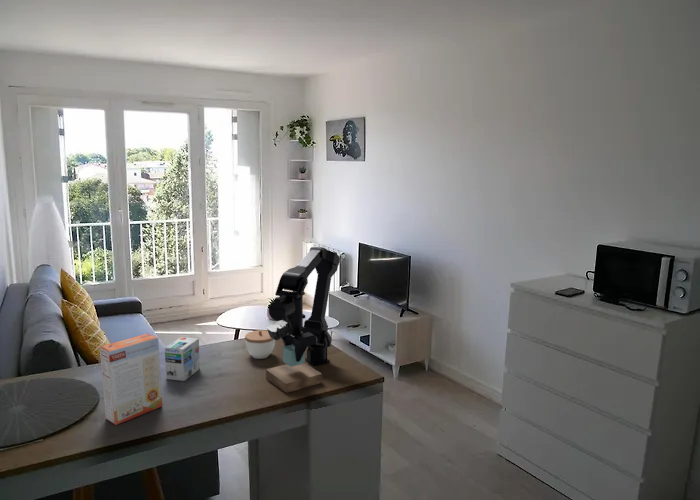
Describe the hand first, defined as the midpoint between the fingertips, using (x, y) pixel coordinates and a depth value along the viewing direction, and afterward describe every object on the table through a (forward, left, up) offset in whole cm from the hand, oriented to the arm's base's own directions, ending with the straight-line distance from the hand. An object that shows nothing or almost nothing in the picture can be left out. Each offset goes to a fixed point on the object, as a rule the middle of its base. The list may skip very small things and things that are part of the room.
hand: (293, 358), depth 164 cm
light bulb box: (+27, -25, -8) cm, 38 cm away
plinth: (0, 0, -7) cm, 7 cm away
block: (0, 0, -1) cm, 1 cm away
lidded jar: (-1, -25, -8) cm, 26 cm away
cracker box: (+47, -7, -8) cm, 48 cm away
